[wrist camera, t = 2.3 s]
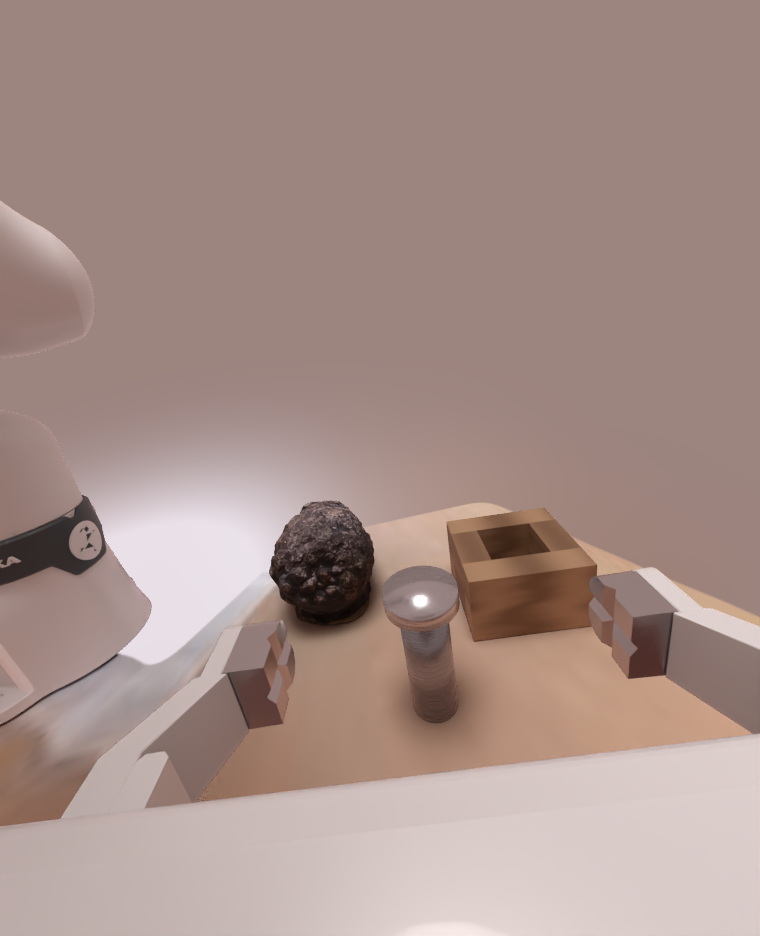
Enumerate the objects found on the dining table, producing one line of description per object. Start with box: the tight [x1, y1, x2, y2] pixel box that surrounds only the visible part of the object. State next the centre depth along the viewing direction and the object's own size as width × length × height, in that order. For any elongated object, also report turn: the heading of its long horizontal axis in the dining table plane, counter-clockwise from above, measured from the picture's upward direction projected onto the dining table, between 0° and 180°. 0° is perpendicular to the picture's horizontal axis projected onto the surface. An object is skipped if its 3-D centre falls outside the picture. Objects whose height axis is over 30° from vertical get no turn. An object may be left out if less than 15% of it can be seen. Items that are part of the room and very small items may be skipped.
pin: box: [382, 566, 459, 723], centre depth 26 cm, size 5×5×10 cm
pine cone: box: [269, 501, 375, 625], centre depth 42 cm, size 10×18×10 cm, turn 15°
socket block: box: [447, 508, 597, 641], centre depth 36 cm, size 10×10×6 cm
